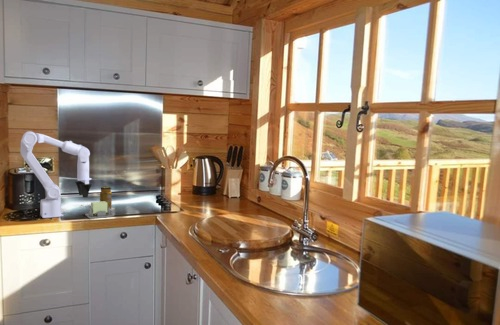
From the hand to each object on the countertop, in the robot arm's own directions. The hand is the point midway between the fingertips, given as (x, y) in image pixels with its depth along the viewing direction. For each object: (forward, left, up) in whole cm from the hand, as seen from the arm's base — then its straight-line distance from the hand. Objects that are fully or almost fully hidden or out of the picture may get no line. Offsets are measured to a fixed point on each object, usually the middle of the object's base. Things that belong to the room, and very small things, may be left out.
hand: (83, 196), depth 216 cm
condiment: (+14, +8, -10) cm, 19 cm away
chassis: (+6, -8, -9) cm, 14 cm away
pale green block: (+6, -8, -7) cm, 12 cm away
